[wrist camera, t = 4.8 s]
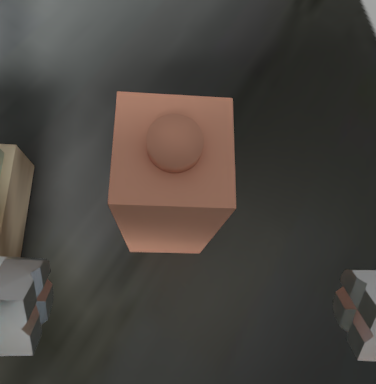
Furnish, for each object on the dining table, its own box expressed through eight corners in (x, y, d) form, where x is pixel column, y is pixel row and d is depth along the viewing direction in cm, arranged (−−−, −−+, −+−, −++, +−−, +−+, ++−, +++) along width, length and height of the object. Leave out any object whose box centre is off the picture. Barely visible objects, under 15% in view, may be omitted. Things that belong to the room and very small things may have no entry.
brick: (199, 253, 21) (240, 203, 11) (130, 251, 20) (105, 198, 10) (199, 188, 22) (236, 88, 12) (134, 185, 22) (115, 80, 12)
